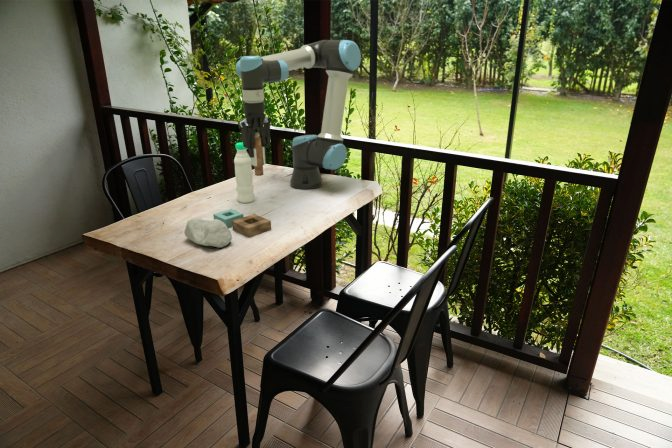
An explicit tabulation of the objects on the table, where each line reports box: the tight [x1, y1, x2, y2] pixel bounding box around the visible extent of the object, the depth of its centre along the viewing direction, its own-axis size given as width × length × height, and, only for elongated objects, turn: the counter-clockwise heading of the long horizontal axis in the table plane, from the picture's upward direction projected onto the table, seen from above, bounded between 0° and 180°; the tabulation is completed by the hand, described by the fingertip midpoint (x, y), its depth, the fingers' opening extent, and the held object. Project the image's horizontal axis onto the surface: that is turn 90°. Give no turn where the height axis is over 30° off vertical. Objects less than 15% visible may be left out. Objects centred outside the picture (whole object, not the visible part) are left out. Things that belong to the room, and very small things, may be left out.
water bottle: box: [233, 141, 255, 204], centre depth 196 cm, size 7×7×25 cm
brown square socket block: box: [232, 213, 272, 238], centre depth 171 cm, size 10×10×4 cm
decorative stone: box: [184, 217, 233, 248], centre depth 160 cm, size 17×10×10 cm
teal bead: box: [213, 208, 244, 229], centre depth 177 cm, size 8×8×4 cm
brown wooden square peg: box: [253, 131, 264, 177], centre depth 176 cm, size 3×3×16 cm
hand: (258, 164), depth 178 cm, fingers closed on brown wooden square peg, 3 cm apart
